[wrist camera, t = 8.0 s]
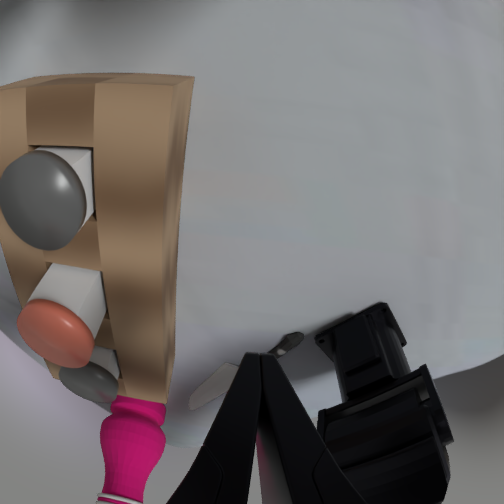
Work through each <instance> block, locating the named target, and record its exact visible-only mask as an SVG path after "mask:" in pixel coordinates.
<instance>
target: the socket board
mask: <svg viewBox="0 0 504 504" xmlns="http://www.w3.org/2000/svg"><path fill="white" fill-rule="evenodd" d="M193 84H194V77H192V76H180V75H166V74H147V73H82V74H63V75H50V76H39V77H32V78H28V79H25V80H21V81H17V82H14V83H11V84H7V85H4V86H1V87H0V179H1V176H2V174H3V172H4V170H5V169H6V167H7V166H8V165H9V164H10V163H12V162H13V161H15V160H16V159H18V158H19V157H21V156H22V155H24V154H25V153H27V152H30V151H34V150H35V149H37V148H38V147H40V146H42V145H57V146H83V147H94V186H95V204H96V210H95V211H94V212H93V213H92V215H91V216H90V217H89V218H88V220H87V221H86V222H85V224H84V225H83V226H82V227H81V229H80V230H79V231H78V232H77V234H76V235H75V236H74V238H73V239H72V240H71V241H70V243H68V244H67V245H66V246H64V247H63V248H60V249H58V250H51V251H47V250H41V249H37V248H35V247H32V246H30V245H29V244H27V243H25V242H24V241H23V240H21V239H20V238H19V237H18V236H17V235H16V234H15V233H14V232H13V230H12V229H11V228H10V226H9V225H8V223H7V222H6V220H5V218H4V215H3V213H2V210H1V207H0V242H1V246H2V249H3V253H4V256H5V260H6V263H7V266H8V269H9V273H10V276H11V279H12V282H13V285H14V288H15V291H16V293H17V296H18V299H19V302H20V304H21V307H22V310H23V308H24V306H25V305H26V303H27V301H28V299H29V298H30V296H31V295H32V293H33V292H34V290H35V289H36V287H37V285H38V284H39V282H40V281H41V279H42V278H43V276H44V275H45V274H46V272H47V271H48V269H49V268H50V266H51V265H52V263H57V264H62V265H68V266H73V267H79V268H85V269H91V270H96V271H102V273H103V280H104V287H105V294H106V300H107V306H108V308H107V311H106V313H105V315H104V318H103V320H102V323H101V325H100V328H99V330H98V332H97V335H96V337H95V340H94V341H95V345H96V346H100V347H105V348H109V349H114V350H116V352H117V356H118V361H119V365H120V373H119V376H118V380H117V381H118V383H119V389H118V393H117V395H121V396H126V397H131V398H136V399H141V400H147V401H152V402H158V403H164V404H167V399H168V393H169V387H170V381H171V376H172V370H173V364H174V359H175V312H176V277H177V254H178V236H179V220H180V205H181V193H182V181H183V170H184V159H185V149H186V140H187V131H188V123H189V114H190V106H191V99H192V91H193ZM44 360H45V362H46V364H47V367H48V369H49V371H50V373H51V374H52V376H53V378H55V379H58V380H60V379H59V375H58V373H59V371H60V368H61V366H59V365H57V364H54V363H52V362H50V361H48V360H46V359H45V358H44Z"/></svg>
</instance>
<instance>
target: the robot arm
mask: <svg viewBox="0 0 504 504" xmlns="http://www.w3.org/2000/svg"><path fill="white" fill-rule="evenodd" d="M315 342H316V344H317V345H318V346H319V347H320V348H321V349H322V351H323V352H324V353H325V354H326V355H327V356H328V357H329V358H330V359H331V360H332V361H333V362H334V364H335V369H336V374H337V379H338V383H339V388H340V393H341V398H342V403H341V404H339V405H336V406H334V407H331V408H328V409H323V410H320V411H319V412H318V421H317V429H316V428H315V426H314V424H313V423H312V421H311V419H310V417H309V415H308V414H307V412H306V410H305V408H304V407H303V405H302V403H301V401H300V400H299V398H298V396H297V394H296V393H295V391H294V389H293V387H292V385H291V384H290V382H289V380H288V378H287V376H286V375H285V373H284V371H283V369H282V368H281V366H280V364H279V362H278V360H277V358H276V357H275V355H274V354H268V353H261V354H260V355H259V354H258V353H252V352H246V353H245V355H244V357H243V359H242V361H241V363H240V366H239V368H238V370H237V372H236V374H235V377H234V379H233V381H232V383H231V385H230V388H229V390H228V392H227V394H226V396H225V398H224V400H223V403H222V405H221V407H220V409H219V411H218V413H217V415H216V418H215V420H214V422H213V424H212V426H211V428H210V430H209V432H208V434H207V436H206V439H205V441H204V443H203V446H201V449H200V451H199V453H198V455H197V457H196V459H195V461H194V462H193V464H192V466H191V468H190V470H189V471H188V473H187V474H186V476H185V478H184V479H183V481H182V482H181V484H180V485H179V487H178V488H177V489H176V491H175V492H174V493H173V495H172V496H171V498H170V499H169V500H168V502H167V503H166V504H247V501H248V494H249V487H250V479H251V472H252V465H253V457H254V450H255V443H256V446H257V457H258V465H259V476H260V485H261V494H262V504H441V503H442V502H443V500H444V498H445V494H446V491H447V487H448V483H449V480H450V464H449V456H448V453H447V450H446V445H449V444H451V443H453V442H454V439H453V436H452V433H451V430H450V426H449V423H448V420H447V417H446V414H445V411H444V408H443V405H442V402H441V400H440V397H439V394H438V392H437V389H436V386H435V384H434V382H433V379H432V377H431V375H430V372H429V370H428V368H427V365H426V364H424V365H422V366H420V367H419V369H417V370H415V371H413V372H411V370H410V367H409V364H408V362H407V359H406V356H405V354H404V351H403V349H402V347H404V346H405V345H406V343H407V342H406V340H405V337H404V335H403V333H402V331H401V329H400V327H399V325H398V323H397V321H396V319H395V317H394V315H393V313H392V311H391V310H390V308H389V306H388V304H387V303H380V304H378V305H377V306H375V307H373V308H371V309H369V310H367V311H365V312H363V313H361V314H359V315H357V316H355V317H353V318H351V319H349V320H347V321H345V322H343V323H341V324H339V325H337V326H335V327H333V328H331V329H329V330H327V331H325V332H322V333H320V334H318V335H317V336H316V337H315Z"/></svg>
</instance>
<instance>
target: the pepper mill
mask: <svg viewBox="0 0 504 504" xmlns="http://www.w3.org/2000/svg"><path fill="white" fill-rule="evenodd" d="M111 412H112V413H113V414H112V415H110V416H108V417H107V418H106V419H104V421H103V422H102V425H101V431H100V443H101V448H102V452H103V457H104V462H105V482H104V487H103V490H102V493H98V494H97V496H98V501H96V504H143V492H144V488H145V484H146V481H147V479H148V477H149V474H150V473H151V471H152V470H153V468H154V467H155V465H156V464H157V462H158V461H159V459H160V458H161V456H162V453H163V451H164V447H165V443H166V438H165V434H164V433H163V431H162V430H161V428H160V426H161V425H163V423H164V419H165V413H166V409H165V406H164V405H163V404H162V403H158V402H152V401H147V400H141V399H136V398H131V397H126V396H121V395H117V397H116V399H115V400H114V401H113V402H112V403H111Z"/></svg>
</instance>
